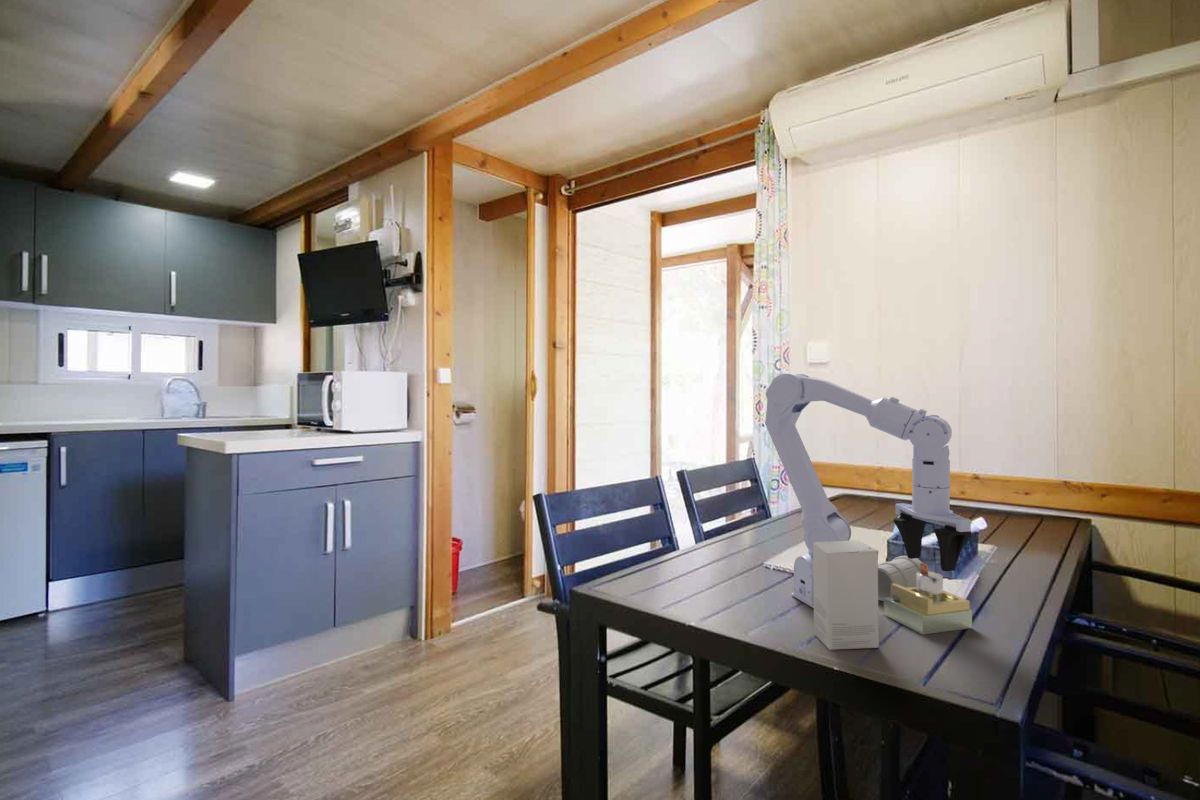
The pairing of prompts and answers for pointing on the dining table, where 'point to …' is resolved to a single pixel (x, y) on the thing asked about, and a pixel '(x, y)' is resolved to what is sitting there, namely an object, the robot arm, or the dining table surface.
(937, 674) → the dining table surface
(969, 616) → the tan and green box
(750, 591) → the dining table surface
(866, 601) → the skincare box
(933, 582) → the spout can
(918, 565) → the mug
